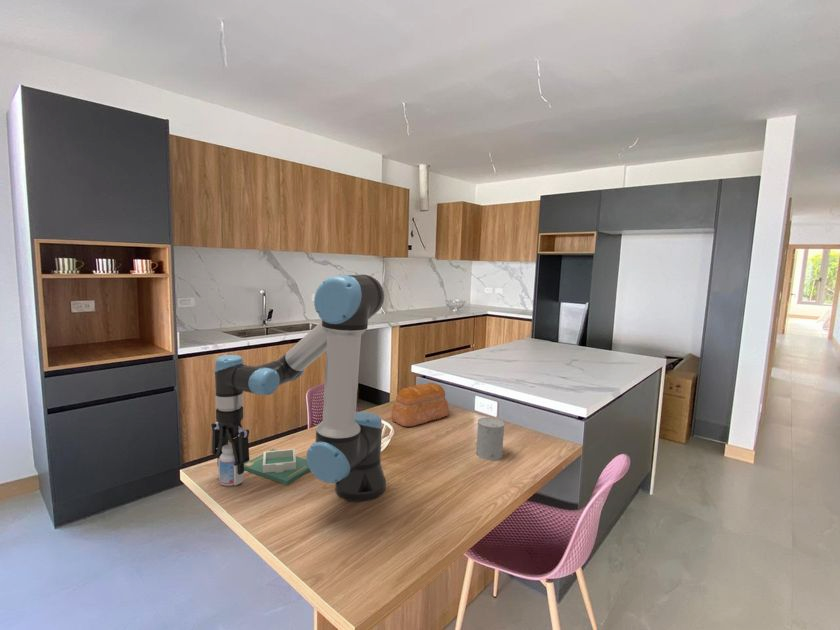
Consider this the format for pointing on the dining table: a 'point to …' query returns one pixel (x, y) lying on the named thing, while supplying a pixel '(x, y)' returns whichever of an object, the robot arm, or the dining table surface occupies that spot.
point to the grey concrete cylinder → (490, 438)
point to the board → (278, 475)
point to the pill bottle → (227, 465)
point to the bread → (419, 404)
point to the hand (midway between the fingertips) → (230, 480)
